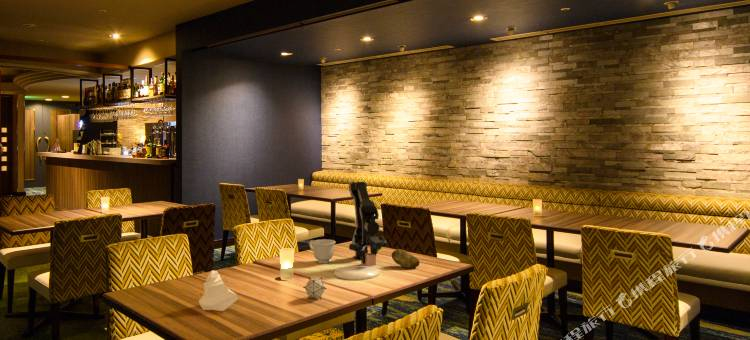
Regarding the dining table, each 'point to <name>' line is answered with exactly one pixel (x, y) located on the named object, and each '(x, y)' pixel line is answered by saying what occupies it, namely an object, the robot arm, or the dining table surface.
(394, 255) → the potato
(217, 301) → the cream irregular lump
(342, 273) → the plate
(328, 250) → the teacup
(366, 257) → the block
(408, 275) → the dining table surface
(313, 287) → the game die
